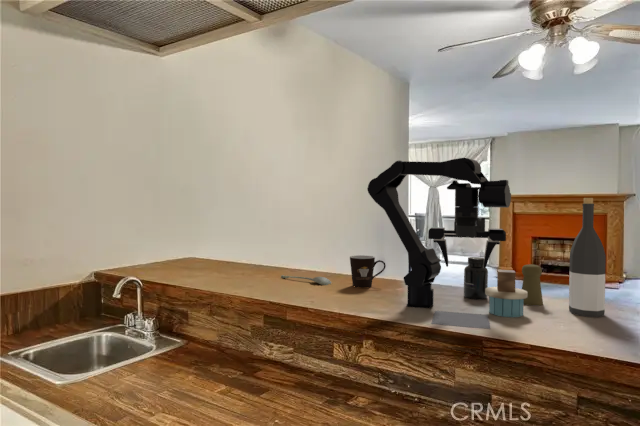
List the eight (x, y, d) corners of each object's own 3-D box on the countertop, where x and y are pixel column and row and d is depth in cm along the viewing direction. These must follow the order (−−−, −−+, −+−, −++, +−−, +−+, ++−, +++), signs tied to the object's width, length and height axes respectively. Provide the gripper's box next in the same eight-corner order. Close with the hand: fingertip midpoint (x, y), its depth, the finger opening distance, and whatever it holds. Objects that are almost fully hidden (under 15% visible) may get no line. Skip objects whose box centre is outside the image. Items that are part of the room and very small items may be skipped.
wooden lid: (485, 297, 110) (486, 273, 110) (484, 290, 120) (484, 267, 120) (529, 300, 107) (530, 275, 107) (525, 292, 117) (525, 269, 116)
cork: (545, 306, 123) (546, 266, 122) (522, 305, 124) (523, 266, 124) (539, 301, 129) (540, 263, 128) (517, 300, 130) (518, 263, 130)
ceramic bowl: (490, 316, 111) (490, 297, 111) (488, 309, 119) (488, 291, 119) (524, 319, 109) (525, 299, 108) (520, 311, 116) (521, 293, 116)
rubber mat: (431, 325, 103) (431, 323, 103) (434, 312, 116) (434, 310, 116) (490, 330, 99) (490, 328, 99) (487, 316, 112) (487, 314, 112)
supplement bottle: (463, 298, 132) (463, 258, 131) (464, 294, 138) (464, 256, 138) (487, 300, 129) (488, 259, 129) (487, 295, 136) (488, 257, 136)
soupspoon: (324, 289, 151) (335, 287, 156) (325, 279, 151) (336, 277, 156) (276, 280, 164) (287, 278, 169) (277, 271, 164) (288, 269, 169)
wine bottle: (561, 309, 119) (563, 198, 118) (590, 309, 119) (592, 198, 118) (581, 317, 111) (583, 197, 110) (612, 317, 111) (614, 197, 110)
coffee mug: (346, 287, 149) (346, 257, 148) (354, 282, 157) (354, 254, 156) (379, 290, 144) (380, 259, 144) (386, 285, 152) (386, 256, 152)
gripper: (426, 207, 109) (426, 270, 110) (508, 208, 104) (507, 274, 104) (430, 206, 120) (429, 263, 120) (504, 207, 114) (503, 267, 115)
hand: (465, 267), depth 115 cm, fingers open, 9 cm apart
